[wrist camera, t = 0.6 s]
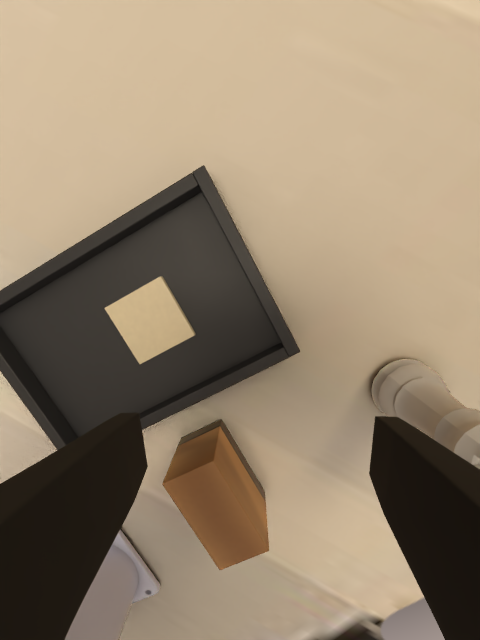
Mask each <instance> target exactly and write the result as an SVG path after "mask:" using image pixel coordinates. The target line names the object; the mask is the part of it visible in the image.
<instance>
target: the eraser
mask: <svg viewBox="0 0 480 640" xmlns="http://www.w3.org/2000/svg"><path fill="white" fill-rule="evenodd" d="M163 486H164V487H165V489H166V490H167V492H168V493H169V495H170V496H171V498H172V499H173V501H174V502H175V504H176V505H177V507H178V508H179V510H180V511H181V513H182V514H183V516H184V517H185V519H186V520H187V522H188V523H189V525H190V526H191V528H192V529H193V531H194V532H195V534H196V535H197V537H198V538H199V540H200V541H201V543H202V544H203V546H204V547H205V549H206V550H207V552H208V553H209V555H210V556H211V558H212V559H213V561H214V562H215V564H216V565H217V567H218V568H219V570H222V569H224V568H227V567H229V566H232V565H234V564H237V563H240V562H242V561H245V560H247V559H250V558H252V557H255V556H257V555H260V554H262V553H265V552H267V551H269V542H268V528H267V514H266V502H265V492H264V490H263V488H262V487H261V485H260V483H259V482H258V480H257V478H256V476H255V475H254V473H253V471H252V470H251V468H250V466H249V465H248V463H247V461H246V460H245V458H244V456H243V455H242V453H241V451H240V450H239V448H238V446H237V445H236V443H235V441H234V440H233V438H232V436H231V435H230V433H229V431H228V429H227V428H226V426H225V424H224V423H223V421H222V420H219V421H216V422H214V423H212V424H210V425H208V426H206V427H204V428H202V429H200V430H198V431H195V432H193V433H191V434H189V435H187V436H185V437H183V438H181V440H180V442H179V445H178V447H177V450H176V452H175V454H174V457H173V459H172V462H171V464H170V467H169V469H168V471H167V474H166V476H165V479H164V481H163Z"/></svg>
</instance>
